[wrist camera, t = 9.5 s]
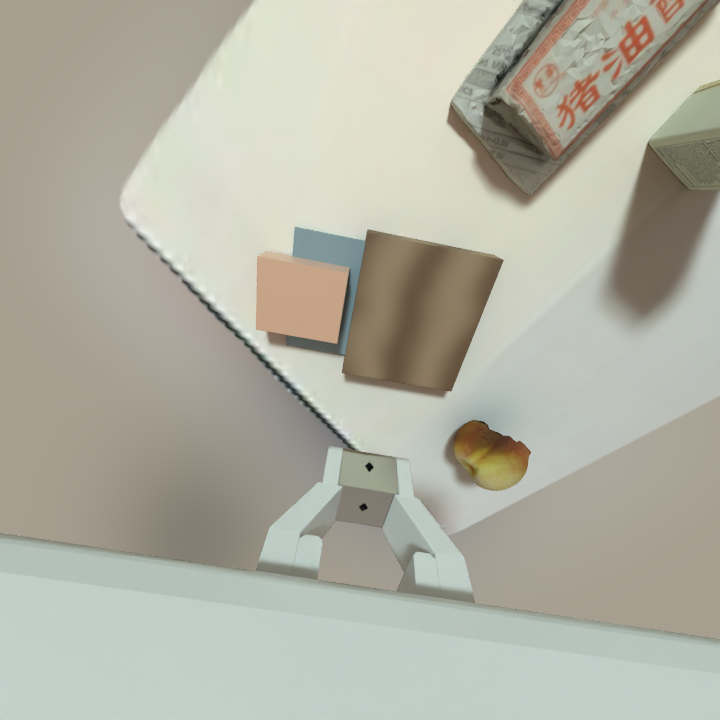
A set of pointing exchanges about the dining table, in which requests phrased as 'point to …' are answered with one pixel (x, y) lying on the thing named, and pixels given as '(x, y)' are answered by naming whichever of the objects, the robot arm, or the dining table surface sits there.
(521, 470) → the fruit
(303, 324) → the terracotta tile
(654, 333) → the dining table surface
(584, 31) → the packaged product
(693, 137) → the skincare box
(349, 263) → the slate mat
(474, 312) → the walnut stand
